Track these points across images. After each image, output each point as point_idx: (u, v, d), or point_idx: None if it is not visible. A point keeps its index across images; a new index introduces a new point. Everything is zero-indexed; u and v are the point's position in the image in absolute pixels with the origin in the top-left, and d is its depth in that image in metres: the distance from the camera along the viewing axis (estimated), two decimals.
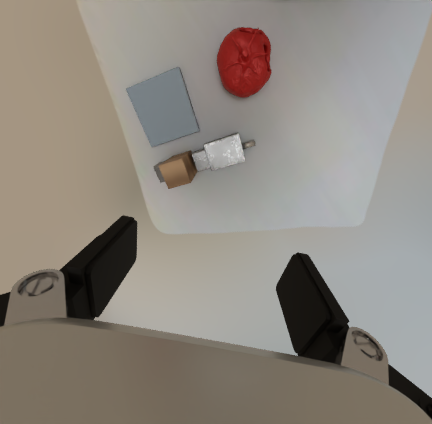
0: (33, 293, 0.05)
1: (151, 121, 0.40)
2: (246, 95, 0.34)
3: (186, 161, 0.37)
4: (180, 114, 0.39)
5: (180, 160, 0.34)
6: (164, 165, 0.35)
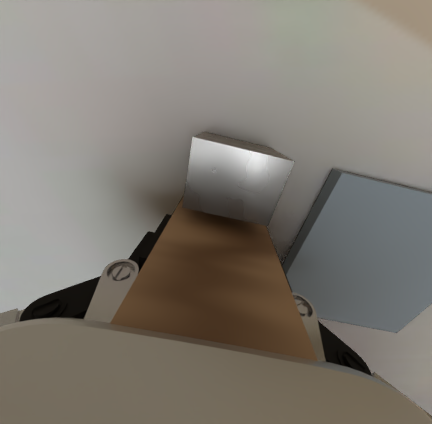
0: (115, 277, 0.07)
1: (394, 226, 0.11)
2: None
3: None
4: (331, 295, 0.14)
5: None
6: None
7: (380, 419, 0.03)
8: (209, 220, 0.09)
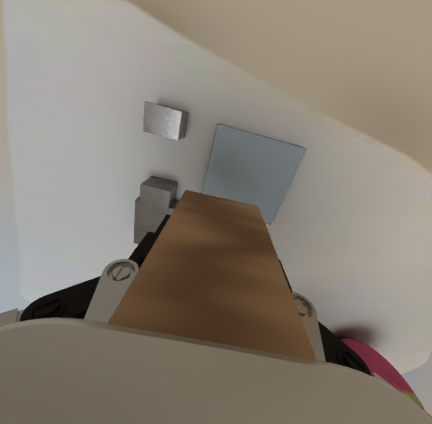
0: (115, 277, 0.07)
1: (248, 153, 0.24)
2: None
3: None
4: (229, 197, 0.27)
5: None
6: None
7: (380, 419, 0.03)
8: (208, 219, 0.09)
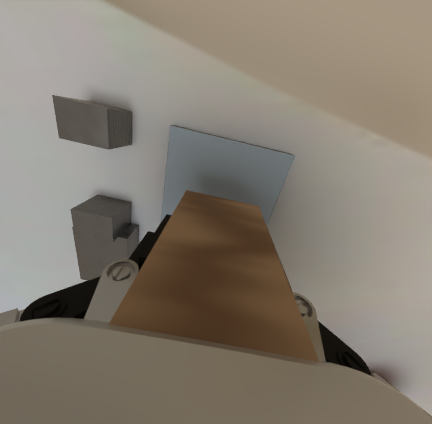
0: (115, 277, 0.07)
1: (216, 163, 0.18)
2: None
3: None
4: None
5: None
6: None
7: (380, 419, 0.03)
8: (209, 219, 0.09)
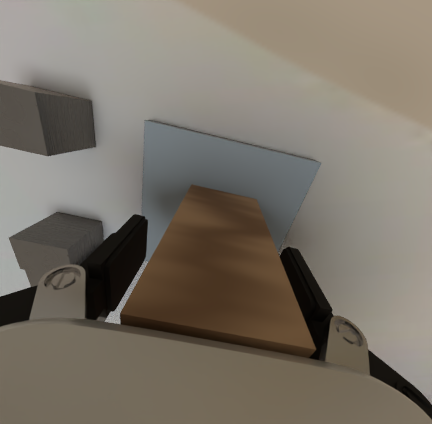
0: (57, 286, 0.06)
1: (211, 173, 0.13)
2: None
3: None
4: None
5: None
6: None
7: (380, 419, 0.03)
8: (213, 208, 0.10)
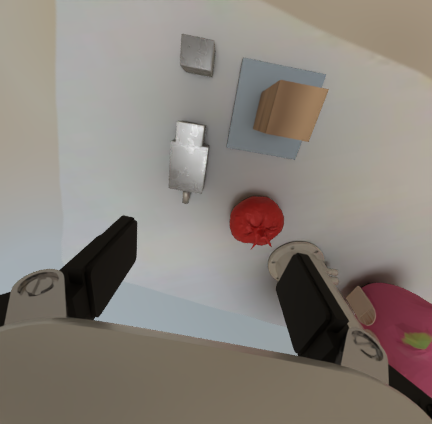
0: (33, 293, 0.05)
1: (272, 84, 0.26)
2: (232, 216, 0.33)
3: None
4: (255, 134, 0.29)
5: (307, 137, 0.20)
6: (320, 102, 0.18)
7: (380, 419, 0.03)
8: None
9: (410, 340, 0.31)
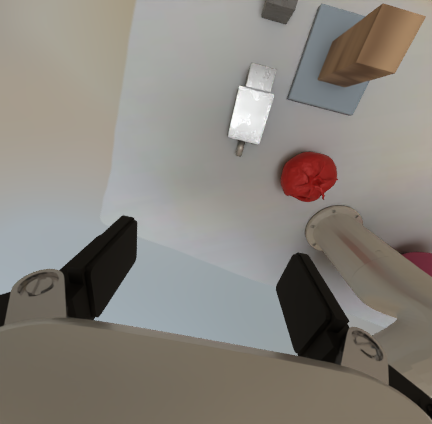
0: (33, 293, 0.05)
1: None
2: (286, 169, 0.34)
3: (370, 75, 0.24)
4: (319, 85, 0.30)
5: (394, 68, 0.21)
6: (415, 30, 0.20)
7: (380, 419, 0.03)
8: None
9: None
